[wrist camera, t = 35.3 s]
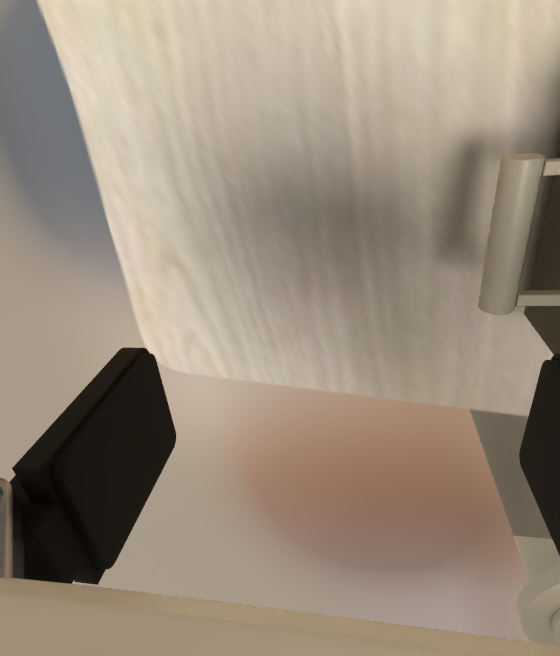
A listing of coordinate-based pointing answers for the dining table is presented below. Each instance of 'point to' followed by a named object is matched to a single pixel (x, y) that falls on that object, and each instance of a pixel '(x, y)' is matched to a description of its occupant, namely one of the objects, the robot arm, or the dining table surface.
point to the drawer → (524, 246)
